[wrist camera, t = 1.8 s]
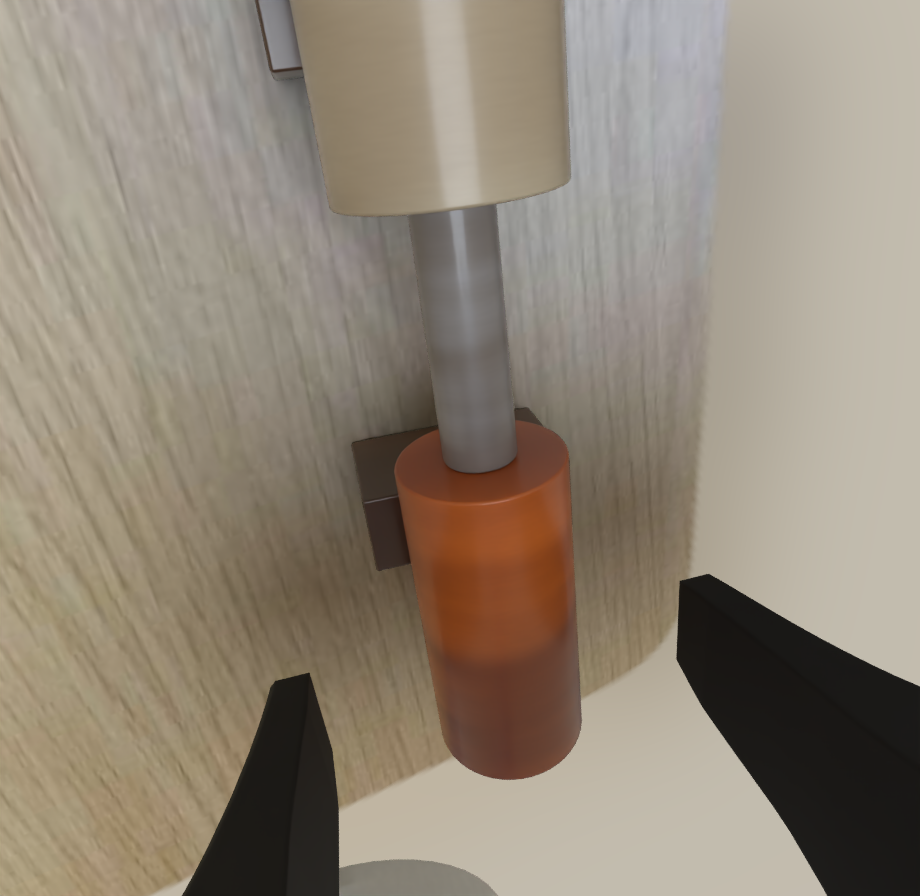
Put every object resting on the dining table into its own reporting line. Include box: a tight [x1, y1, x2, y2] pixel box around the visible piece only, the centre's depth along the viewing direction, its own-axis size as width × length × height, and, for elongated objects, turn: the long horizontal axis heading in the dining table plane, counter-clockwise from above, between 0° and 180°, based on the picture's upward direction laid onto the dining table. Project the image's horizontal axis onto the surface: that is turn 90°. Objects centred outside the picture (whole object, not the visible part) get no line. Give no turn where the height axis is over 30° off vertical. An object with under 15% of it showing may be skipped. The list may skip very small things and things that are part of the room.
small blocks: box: [255, 0, 572, 571], centre depth 12 cm, size 10×4×3 cm, turn 7°
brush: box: [289, 0, 582, 780], centre depth 10 cm, size 15×3×3 cm, turn 7°
